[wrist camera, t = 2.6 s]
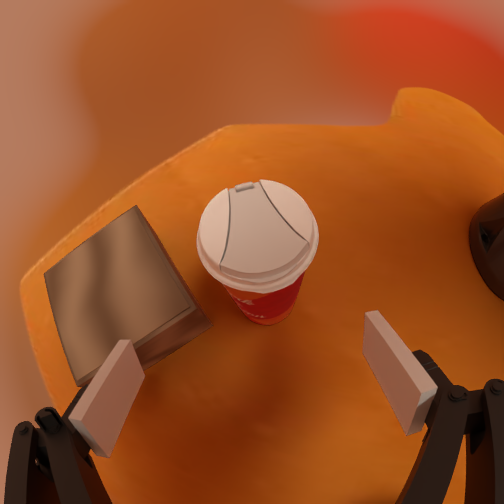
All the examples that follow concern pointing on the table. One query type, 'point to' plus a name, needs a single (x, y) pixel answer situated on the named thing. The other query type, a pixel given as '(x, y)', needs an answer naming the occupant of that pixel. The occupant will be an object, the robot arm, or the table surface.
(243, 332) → the table surface
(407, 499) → the robot arm
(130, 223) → the walnut box
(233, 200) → the paper cup
